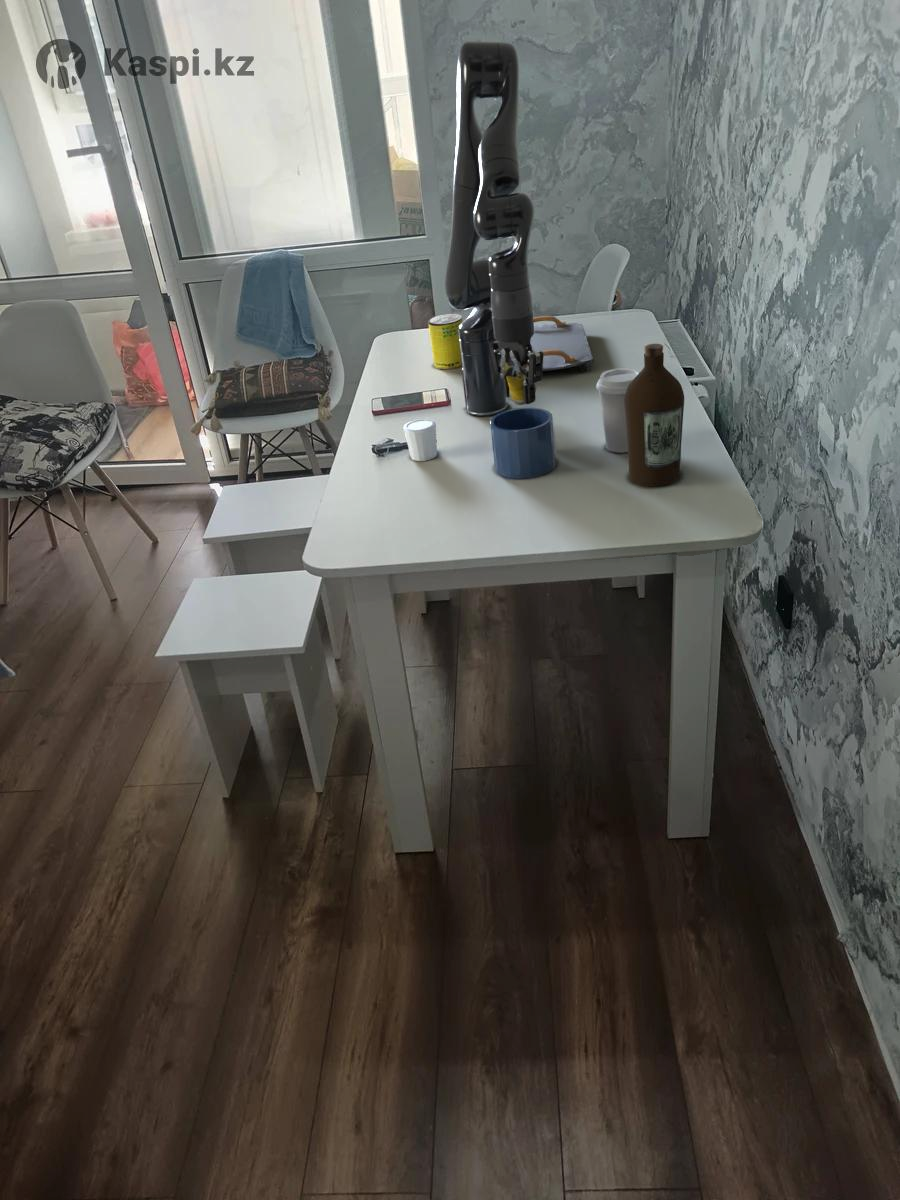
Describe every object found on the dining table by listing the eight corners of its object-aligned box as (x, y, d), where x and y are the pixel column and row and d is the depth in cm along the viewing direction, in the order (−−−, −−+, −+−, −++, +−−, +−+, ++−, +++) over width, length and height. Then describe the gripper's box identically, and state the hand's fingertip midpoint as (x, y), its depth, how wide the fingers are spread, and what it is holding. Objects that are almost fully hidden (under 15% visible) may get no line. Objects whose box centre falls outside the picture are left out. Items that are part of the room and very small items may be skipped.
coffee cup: (649, 437, 188) (648, 366, 180) (642, 456, 181) (641, 383, 173) (603, 436, 191) (600, 367, 183) (594, 455, 184) (591, 383, 176)
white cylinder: (416, 465, 191) (411, 433, 187) (402, 455, 196) (397, 424, 192) (445, 455, 193) (441, 424, 189) (431, 446, 198) (426, 415, 195)
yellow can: (473, 359, 246) (468, 314, 240) (455, 370, 240) (450, 324, 234) (445, 357, 251) (439, 313, 245) (427, 367, 245) (421, 323, 239)
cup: (483, 467, 186) (477, 421, 180) (529, 448, 191) (526, 402, 186) (519, 484, 177) (515, 436, 171) (568, 464, 182) (565, 416, 177)
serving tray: (596, 374, 224) (595, 350, 220) (502, 385, 226) (500, 360, 223) (582, 330, 256) (581, 307, 253) (500, 339, 259) (498, 317, 255)
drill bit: (545, 402, 177) (522, 381, 168) (521, 415, 179) (497, 394, 171) (538, 380, 179) (515, 357, 170) (514, 393, 181) (491, 371, 173)
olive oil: (617, 471, 176) (613, 344, 163) (668, 460, 178) (669, 333, 164) (639, 493, 167) (637, 360, 154) (693, 481, 169) (695, 348, 155)
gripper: (553, 312, 164) (558, 401, 173) (504, 301, 174) (512, 386, 183) (520, 322, 161) (527, 413, 170) (473, 311, 171) (482, 397, 180)
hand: (519, 399), depth 176 cm, fingers closed on drill bit, 5 cm apart
